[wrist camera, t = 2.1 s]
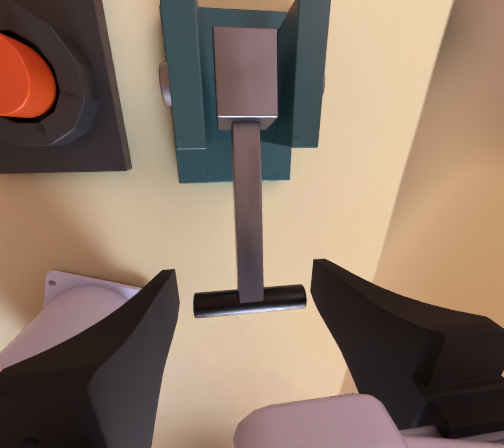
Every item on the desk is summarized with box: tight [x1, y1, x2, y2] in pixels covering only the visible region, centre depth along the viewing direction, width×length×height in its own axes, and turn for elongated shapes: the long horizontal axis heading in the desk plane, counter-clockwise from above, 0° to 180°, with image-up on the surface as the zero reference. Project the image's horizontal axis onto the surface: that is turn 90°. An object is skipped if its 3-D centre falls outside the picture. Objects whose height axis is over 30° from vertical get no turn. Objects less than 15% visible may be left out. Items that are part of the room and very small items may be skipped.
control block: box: [0, 0, 132, 174], centre depth 14 cm, size 10×8×3 cm
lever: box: [193, 26, 307, 318], centre depth 10 cm, size 11×5×2 cm, turn 0°
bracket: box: [159, 0, 331, 183], centre depth 12 cm, size 10×8×10 cm
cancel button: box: [0, 33, 57, 118], centre depth 12 cm, size 4×4×2 cm
